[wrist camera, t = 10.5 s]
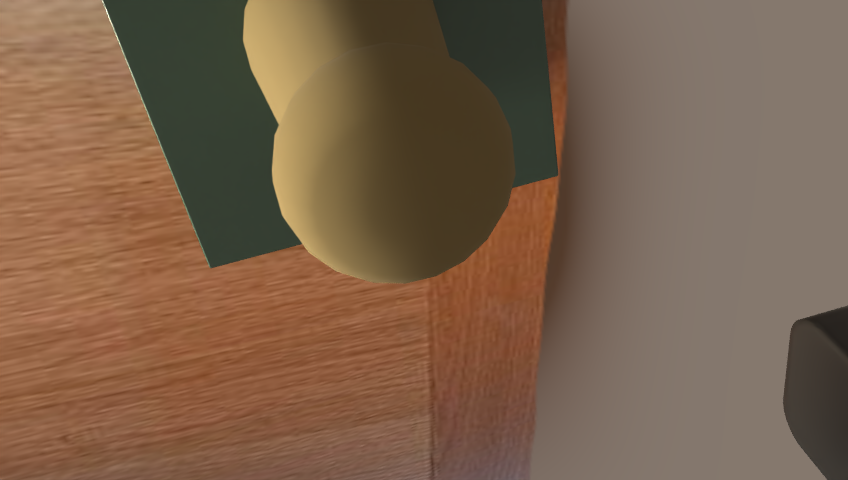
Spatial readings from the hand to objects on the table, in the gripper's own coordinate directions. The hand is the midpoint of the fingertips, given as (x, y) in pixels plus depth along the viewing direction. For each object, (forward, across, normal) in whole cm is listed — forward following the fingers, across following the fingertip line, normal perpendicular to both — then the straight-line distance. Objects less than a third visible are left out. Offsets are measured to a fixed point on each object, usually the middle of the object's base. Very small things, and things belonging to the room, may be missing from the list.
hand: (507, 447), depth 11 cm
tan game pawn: (+18, 0, 0) cm, 18 cm away
